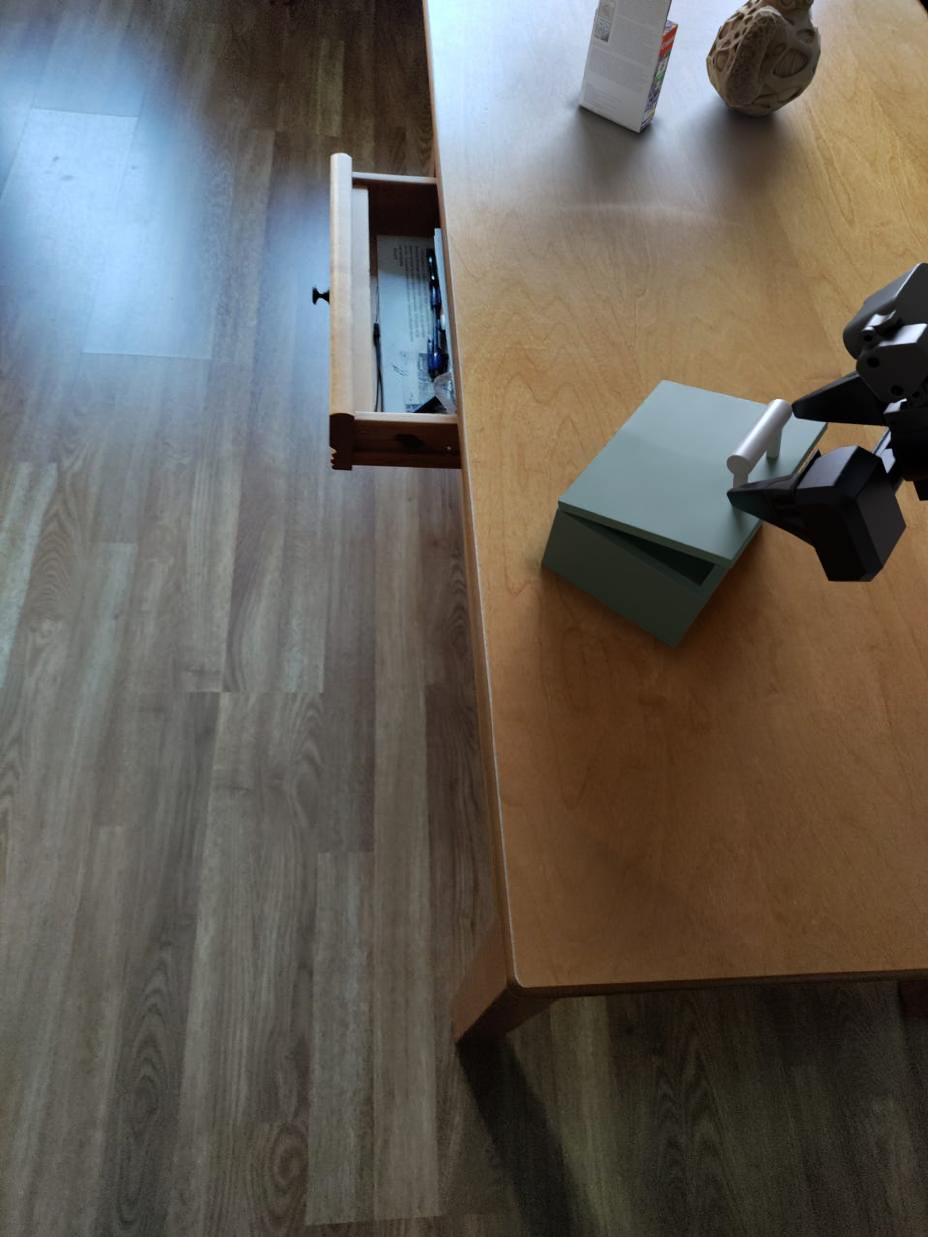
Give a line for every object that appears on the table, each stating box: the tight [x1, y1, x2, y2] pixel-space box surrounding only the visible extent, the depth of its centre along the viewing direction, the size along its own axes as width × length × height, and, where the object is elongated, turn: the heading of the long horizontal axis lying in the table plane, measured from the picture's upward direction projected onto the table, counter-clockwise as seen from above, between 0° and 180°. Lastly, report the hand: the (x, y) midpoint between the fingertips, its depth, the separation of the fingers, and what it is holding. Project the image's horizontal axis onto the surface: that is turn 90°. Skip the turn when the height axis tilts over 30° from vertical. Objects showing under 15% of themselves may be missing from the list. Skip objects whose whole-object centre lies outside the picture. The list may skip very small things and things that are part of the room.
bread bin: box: [540, 506, 731, 650], centre depth 63 cm, size 12×15×7 cm
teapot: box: [705, 0, 822, 118], centre depth 90 cm, size 21×12×15 cm, turn 154°
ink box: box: [577, 0, 679, 134], centre depth 88 cm, size 4×8×15 cm, turn 55°
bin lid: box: [557, 379, 829, 570], centre depth 56 cm, size 12×15×5 cm
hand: (762, 452), depth 54 cm, fingers open, 9 cm apart
